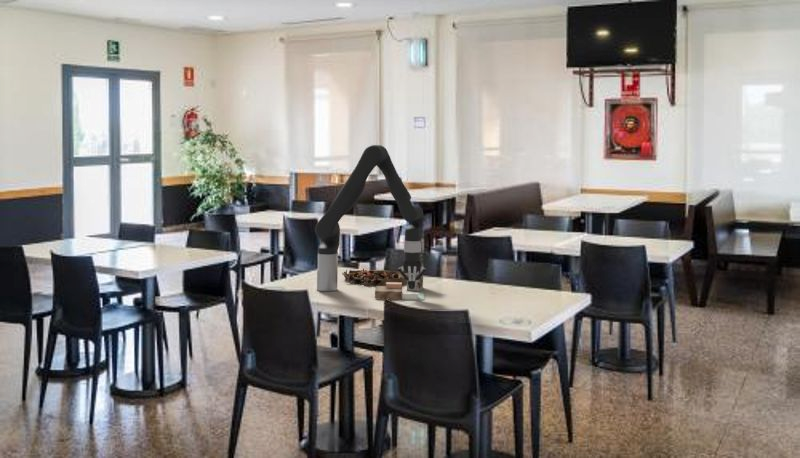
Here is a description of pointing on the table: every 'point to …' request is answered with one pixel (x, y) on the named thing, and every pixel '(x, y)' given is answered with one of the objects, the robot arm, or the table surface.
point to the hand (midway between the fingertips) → (411, 289)
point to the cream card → (409, 295)
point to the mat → (420, 297)
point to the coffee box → (418, 282)
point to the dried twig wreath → (373, 277)
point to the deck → (388, 292)
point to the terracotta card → (393, 285)
